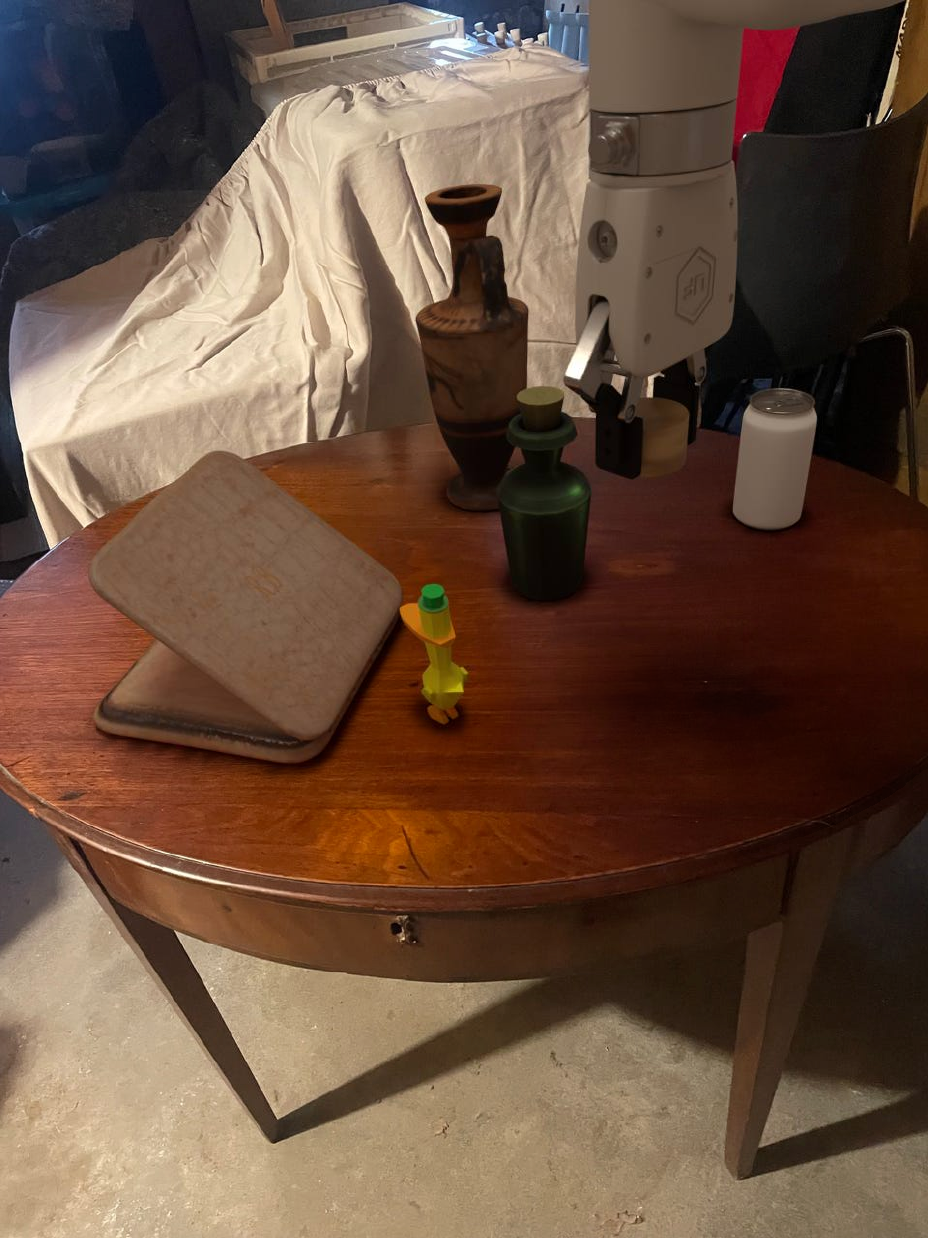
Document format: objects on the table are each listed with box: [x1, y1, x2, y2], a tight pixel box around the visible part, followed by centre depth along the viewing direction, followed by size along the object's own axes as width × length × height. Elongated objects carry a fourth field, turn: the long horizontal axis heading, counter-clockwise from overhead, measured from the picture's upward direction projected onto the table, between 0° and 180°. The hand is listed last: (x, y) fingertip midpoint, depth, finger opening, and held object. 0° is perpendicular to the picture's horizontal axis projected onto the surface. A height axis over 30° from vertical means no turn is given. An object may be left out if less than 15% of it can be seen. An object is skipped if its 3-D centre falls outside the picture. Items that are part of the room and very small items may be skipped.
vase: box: [414, 183, 530, 512], centre depth 86 cm, size 11×11×30 cm
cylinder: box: [636, 396, 689, 479], centre depth 56 cm, size 5×5×3 cm
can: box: [732, 387, 818, 531], centre depth 83 cm, size 6×6×12 cm
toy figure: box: [399, 583, 469, 725], centre depth 64 cm, size 7×4×12 cm, turn 37°
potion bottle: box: [497, 385, 592, 601], centre depth 75 cm, size 8×8×18 cm
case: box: [87, 450, 403, 764], centre depth 69 cm, size 20×21×16 cm
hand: (646, 452), depth 57 cm, fingers closed on cylinder, 5 cm apart
